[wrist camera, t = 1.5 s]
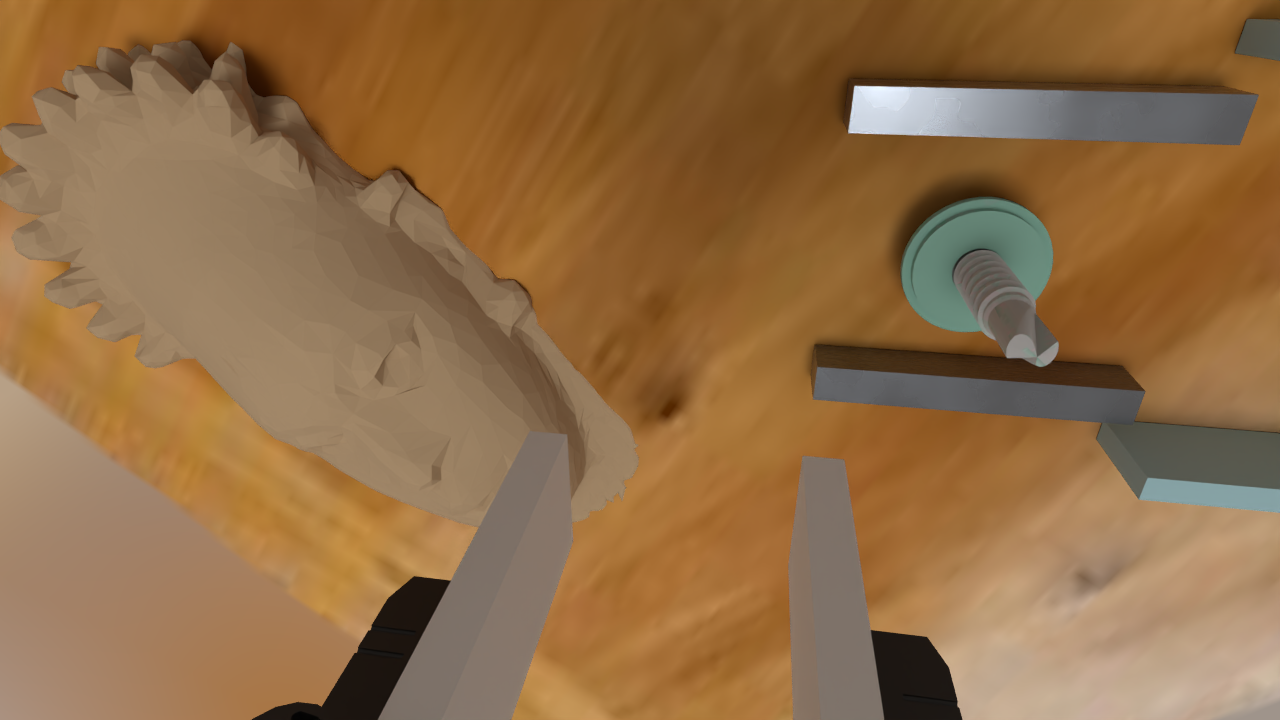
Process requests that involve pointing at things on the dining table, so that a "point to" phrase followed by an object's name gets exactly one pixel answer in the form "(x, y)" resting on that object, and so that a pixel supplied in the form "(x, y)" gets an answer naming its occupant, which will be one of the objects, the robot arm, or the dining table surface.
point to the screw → (983, 274)
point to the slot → (1032, 117)
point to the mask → (297, 283)
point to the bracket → (1199, 456)
